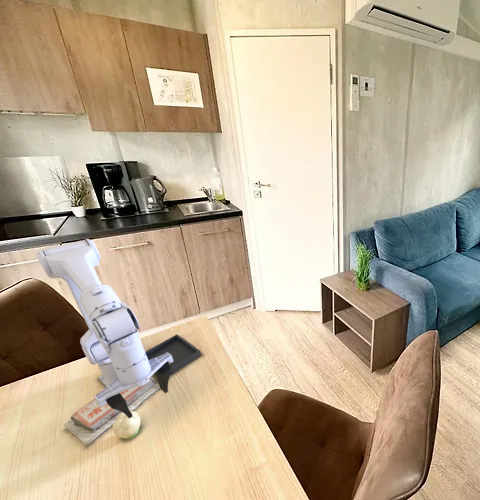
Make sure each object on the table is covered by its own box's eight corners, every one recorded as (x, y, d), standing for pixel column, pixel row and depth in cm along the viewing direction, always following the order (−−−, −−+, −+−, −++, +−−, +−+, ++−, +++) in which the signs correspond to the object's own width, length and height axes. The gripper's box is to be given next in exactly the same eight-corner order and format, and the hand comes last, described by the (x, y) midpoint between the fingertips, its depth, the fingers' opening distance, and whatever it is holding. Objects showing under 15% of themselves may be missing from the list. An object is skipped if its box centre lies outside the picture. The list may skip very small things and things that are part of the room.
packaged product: (135, 364, 83) (157, 375, 80) (140, 376, 85) (161, 388, 82) (57, 416, 69) (79, 433, 65) (65, 429, 71) (87, 447, 67)
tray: (139, 360, 91) (137, 356, 90) (178, 338, 100) (176, 334, 100) (161, 381, 84) (159, 376, 83) (201, 355, 93) (200, 350, 92)
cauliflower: (114, 435, 69) (106, 420, 67) (138, 418, 73) (131, 403, 71) (123, 448, 67) (115, 432, 64) (147, 430, 70) (140, 414, 68)
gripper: (95, 392, 54) (119, 438, 59) (173, 346, 65) (187, 388, 70) (81, 375, 57) (105, 420, 63) (158, 334, 68) (172, 375, 74)
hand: (147, 402), depth 67 cm, fingers open, 7 cm apart
